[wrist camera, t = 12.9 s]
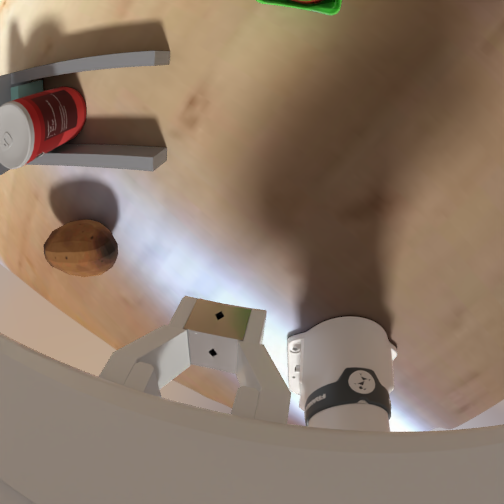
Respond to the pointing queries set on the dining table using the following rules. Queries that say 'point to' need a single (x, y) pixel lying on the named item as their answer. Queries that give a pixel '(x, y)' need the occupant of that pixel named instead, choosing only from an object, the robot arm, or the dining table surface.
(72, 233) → the potato
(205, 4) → the dining table surface
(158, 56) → the lane
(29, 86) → the block
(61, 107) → the canned food
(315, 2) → the fruit basket
